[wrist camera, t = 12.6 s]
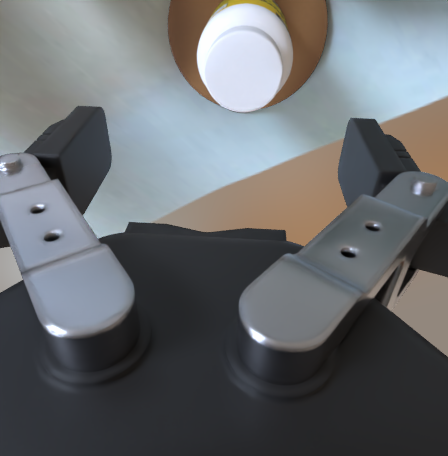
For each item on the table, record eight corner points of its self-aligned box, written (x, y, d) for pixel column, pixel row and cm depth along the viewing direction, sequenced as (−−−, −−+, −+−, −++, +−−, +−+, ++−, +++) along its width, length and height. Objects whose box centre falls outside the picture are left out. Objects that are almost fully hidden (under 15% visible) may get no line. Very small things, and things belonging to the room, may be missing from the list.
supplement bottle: (303, 27, 27) (321, 69, 19) (250, 88, 30) (248, 146, 22) (243, -33, 25) (236, -14, 18) (193, 38, 28) (168, 82, 20)
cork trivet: (173, 105, 32) (172, 107, 31) (163, -68, 25) (162, -68, 25) (313, 111, 31) (314, 113, 31) (341, -64, 25) (342, -63, 24)
